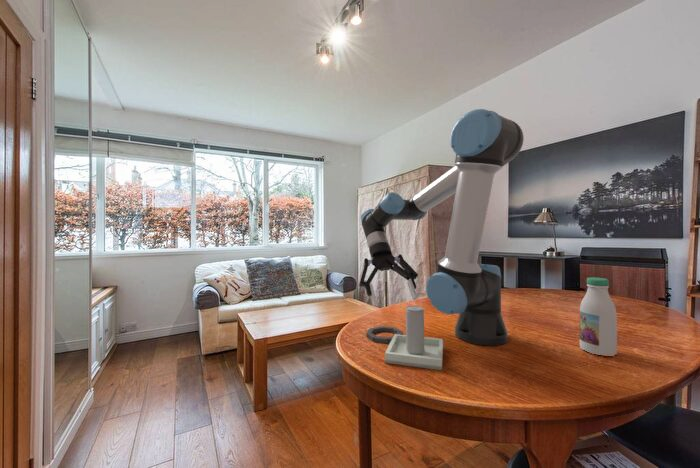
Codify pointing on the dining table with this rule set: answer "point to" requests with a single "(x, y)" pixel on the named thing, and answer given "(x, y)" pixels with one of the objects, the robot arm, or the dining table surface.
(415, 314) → the beverage can
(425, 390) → the dining table surface
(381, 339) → the seat ring
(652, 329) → the dining table surface
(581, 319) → the milk bottle
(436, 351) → the tray
